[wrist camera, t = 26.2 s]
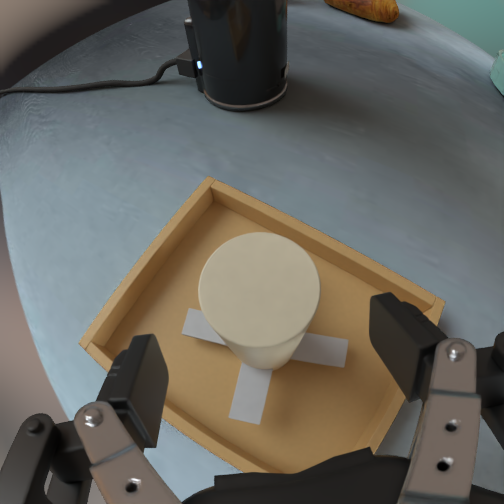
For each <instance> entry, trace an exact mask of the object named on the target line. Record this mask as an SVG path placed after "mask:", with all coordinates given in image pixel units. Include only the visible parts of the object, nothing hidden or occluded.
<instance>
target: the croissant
mask: <svg viewBox="0 0 504 504" xmlns="http://www.w3.org/2000/svg"><path fill="white" fill-rule="evenodd" d="M324 1H325V3H327V4H329V5H331V6H333V7H336V8H338V9H341V10H343V11H346V12H348V13H351V14H354V15H357V16H359V17H362V18H367V19H369V20H372V21H377V22H385V23H391V22H393V21H395V20H396V19H397V17H398V16H399V9H398V6H397V4H396V1H395V0H324Z"/></svg>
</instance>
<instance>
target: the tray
mask: <svg viewBox="0 0 504 504" xmlns="http://www.w3.org/2000/svg"><path fill="white" fill-rule="evenodd" d="M255 232H266V233H273V234H277V235H281V236H283V237H286V238H288V239H290V240H292V241H293V242H295V243H296V244H298V245H299V246H300V247H301V248H303V249H304V250H305V251H306V252H307V254H308V255H309V256H310V257H311V259H312V260H313V262H314V264H315V266H316V268H317V270H318V273H319V277H320V282H321V298H320V302H319V306H318V309H317V312H316V314H315V316H314V318H313V320H312V321H311V323H310V325H309V327H308V329H307V330H306V333H311V334H317V335H323V336H329V337H335V338H341V339H348V340H349V341H348V348H347V354H346V360H345V366H344V368H341V367H334V366H328V365H321V364H315V363H309V362H304V361H298V360H292V359H290V360H289V361H288V362H287V363H286V364H285V365H284V366H283V367H281V368H279V369H277V370H274V371H272V375H271V380H270V384H269V388H268V393H267V397H266V401H265V405H264V410H263V414H262V418H261V422H260V425H258V424H253V423H248V422H244V421H240V420H235V419H231V418H229V413H230V409H231V405H232V401H233V397H234V393H235V389H236V385H237V381H238V376H239V372H240V368H241V364H242V362H241V361H240V360H239V358H238V357H237V356H236V355H235V354H234V353H233V352H232V350H231V349H230V348H229V347H228V346H225V345H221V344H217V343H213V342H209V341H205V340H201V339H197V338H193V337H189V336H185V335H182V330H183V327H184V323H185V320H186V316H187V313H188V309H189V308H191V309H196V310H200V311H202V310H201V307H200V303H199V297H198V286H199V280H200V275H201V273H202V270H203V268H204V266H205V264H206V262H207V260H208V259H209V258H210V256H211V255H212V254H213V253H214V252H215V251H216V249H218V248H219V247H220V246H221V245H222V244H224V243H226V242H227V241H229V240H231V239H233V238H235V237H237V236H240V235H243V234H248V233H255ZM386 292H391V293H393V294H394V295H395V296H396V297H397V298H398V299H399V300H400V301H401V302H403V301H406V302H408V303H410V304H412V305H414V306H416V307H417V308H418V309H419V310H420V311H421V312H422V313H423V315H426V316H427V317H428V318H429V321H430V320H431V321H432V322H433V323H434V324H435V325H436V326H437V325H438V322H439V319H440V316H441V314H442V311H443V308H444V305H445V301H444V300H442V299H440V298H439V297H436V296H435V295H433V294H431V293H430V292H428V291H426V290H425V289H423V288H421V287H420V286H418V285H416V284H414V283H413V282H411V281H409V280H407V279H406V278H404V277H402V276H401V275H399V274H397V273H395V272H393V271H392V270H390V269H388V268H386V267H385V266H383V265H381V264H379V263H377V262H376V261H374V260H372V259H370V258H368V257H367V256H365V255H363V254H361V253H359V252H358V251H356V250H354V249H352V248H350V247H348V246H347V245H345V244H343V243H341V242H339V241H337V240H335V239H333V238H332V237H330V236H328V235H326V234H324V233H322V232H320V231H318V230H316V229H315V228H313V227H311V226H309V225H307V224H305V223H303V222H301V221H299V220H297V219H295V218H293V217H291V216H289V215H287V214H285V213H283V212H281V211H279V210H278V209H276V208H274V207H272V206H270V205H268V204H266V203H264V202H261V201H259V200H257V199H255V198H253V197H251V196H249V195H247V194H245V193H243V192H241V191H239V190H237V189H235V188H233V187H231V186H229V185H227V184H224V183H222V182H220V181H218V180H216V179H214V178H212V177H210V176H208V177H207V178H206V179H205V180H204V181H203V182H202V183H201V185H200V186H199V187H198V188H197V189H196V190H195V191H194V193H193V194H192V195H191V196H190V197H189V198H188V200H187V201H186V202H185V203H184V204H183V205H182V207H181V208H180V209H179V210H178V211H177V213H176V214H175V215H174V216H173V217H172V219H171V220H170V221H169V222H168V224H167V225H166V226H165V227H164V228H163V230H162V231H161V232H160V233H159V235H158V236H157V237H156V238H155V240H154V241H153V242H152V243H151V245H150V246H149V247H148V248H147V250H146V251H145V252H144V253H143V255H142V256H141V257H140V259H139V260H138V261H137V262H136V264H135V265H134V266H133V268H132V269H131V270H130V272H129V273H128V274H127V276H126V277H125V278H124V280H123V281H122V282H121V284H120V285H119V286H118V288H117V289H116V290H115V292H114V293H113V294H112V296H111V297H110V299H109V300H108V301H107V303H106V304H105V306H104V307H103V308H102V310H101V311H100V313H99V314H98V315H97V317H96V318H95V320H94V321H93V323H92V324H91V325H90V327H89V328H88V330H87V331H86V333H85V334H84V336H83V337H82V339H81V340H80V342H79V345H80V346H81V347H82V348H83V349H84V350H85V351H86V352H87V353H88V354H89V355H90V356H91V357H92V358H93V359H94V360H95V361H96V362H97V363H99V364H100V365H101V366H102V367H103V368H104V369H105V370H106V371H107V372H109V370H110V369H111V368H110V367H111V365H112V363H113V361H114V359H115V357H116V356H117V355H118V354H119V353H120V352H121V351H122V350H125V349H128V347H129V345H130V343H131V340H132V338H133V336H135V335H144V334H154V335H155V336H156V338H157V341H158V343H159V346H160V349H161V352H162V354H163V357H164V360H165V362H166V365H167V368H168V373H169V383H168V388H167V393H166V398H165V403H164V408H163V413H162V418H163V419H164V420H166V421H167V422H168V423H170V424H171V425H172V426H174V427H175V428H176V429H178V430H179V431H181V432H182V433H183V434H185V435H186V436H188V437H189V438H191V439H192V440H193V441H195V442H196V443H198V444H199V445H201V446H202V447H204V448H205V449H207V450H208V451H210V452H211V453H213V454H215V455H216V456H218V457H219V458H221V459H222V460H224V461H226V462H227V463H229V464H231V465H232V466H234V467H236V468H237V469H239V470H241V471H242V472H244V473H248V472H262V473H284V474H294V473H298V472H301V471H303V470H305V469H308V468H310V467H312V466H315V465H317V464H319V463H321V462H323V461H325V460H328V459H330V458H332V457H334V456H338V455H342V454H346V453H349V452H353V451H356V450H360V449H363V448H366V447H369V446H370V448H371V450H372V452H373V455H374V454H375V452H376V450H377V449H378V447H379V445H380V444H381V442H382V440H383V439H384V437H385V435H386V434H387V432H388V430H389V428H390V427H391V425H392V423H393V421H394V419H395V417H396V416H397V414H398V412H399V410H400V408H401V406H402V404H403V402H404V400H405V398H406V397H405V395H404V394H403V392H402V390H401V389H400V387H399V386H398V384H397V383H396V381H395V380H394V378H393V377H392V375H391V373H390V372H389V370H388V369H387V367H386V366H385V364H384V363H383V361H382V360H381V358H380V357H379V355H378V354H377V352H376V351H375V349H374V348H373V346H372V344H371V341H370V337H369V313H370V298H371V296H373V295H378V294H382V293H386Z"/></svg>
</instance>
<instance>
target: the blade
mask: <svg viewBox="0 0 504 504" xmlns="http://www.w3.org/2000/svg"><path fill="white" fill-rule="evenodd" d="M198 297H199V303H200V307H201V310H202V311H200V310H196V309H191V308H189V309H188V313H187V316H186V320H185V323H184V327H183V330H182V335H185V336H189V337H193V338H197V339H201V340H205V341H209V342H213V343H217V344H221V345H225V346H228V347H229V348H230V349H231V350H232V352H233V353H234V354H235V355H236V356H237V357H238V358H239V360H240V361H241V362H242V364H241V368H240V372H239V376H238V381H237V385H236V389H235V393H234V397H233V401H232V405H231V409H230V413H229V418H231V419H235V420H240V421H244V422H248V423H253V424H258V425H260V422H261V418H262V414H263V410H264V405H265V401H266V397H267V393H268V388H269V384H270V380H271V375H272V371H274V370H277V369H279V368H281V367H283V366H284V365H285V364H286V363H287V362H288V361H289V360H290V359H292V360H298V361H304V362H309V363H315V364H321V365H328V366H334V367H341V368H344V366H345V360H346V354H347V348H348V341H349V340H348V339H341V338H335V337H329V336H323V335H317V334H311V333H306V330H307V329H308V327H309V325H310V323H311V321H312V320H313V318H314V316H315V314H316V312H317V309H318V306H319V302H320V298H321V282H320V277H319V273H318V270H317V268H316V266H315V264H314V262H313V260H312V259H311V257H310V256H309V255H308V254H307V252H306V251H305V250H304V249H303V248H301V247H300V246H299V245H298V244H296V243H295V242H293V241H292V240H290V239H288V238H286V237H283V236H281V235H277V234H273V233H266V232H255V233H248V234H243V235H240V236H237V237H235V238H233V239H231V240H229V241H227V242H226V243H224V244H222V245H221V246H220V247H219V248H218V249H216V251H215V252H214V253H213V254H212V255H211V256H210V258H209V259H208V260H207V262H206V264H205V266H204V268H203V270H202V273H201V275H200V280H199V286H198Z"/></svg>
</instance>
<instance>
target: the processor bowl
mask: <svg viewBox="0 0 504 504" xmlns="http://www.w3.org/2000/svg"><path fill="white" fill-rule="evenodd" d="M490 78H491V80H492V81H493V83H494V85H495V86H496V87H497V88H498V90H499V91H500V92H501V93H502V94H503V95H504V50H500V51H498V54H497V56H496V58H495V61H494V63H493V65H492V68H491V70H490Z"/></svg>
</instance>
